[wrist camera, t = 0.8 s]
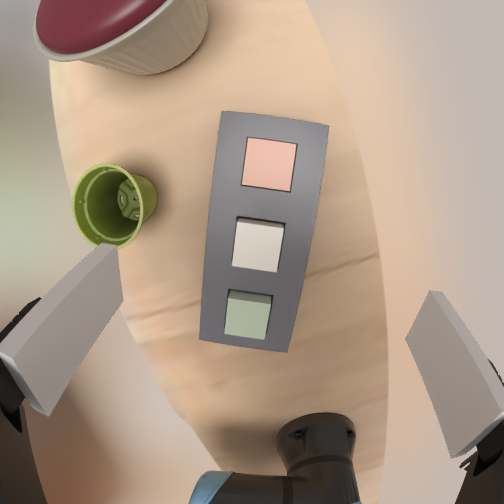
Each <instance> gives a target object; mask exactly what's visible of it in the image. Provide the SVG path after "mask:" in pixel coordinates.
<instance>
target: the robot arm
mask: <svg viewBox="0 0 504 504" xmlns="http://www.w3.org/2000/svg"><path fill="white" fill-rule="evenodd" d="M122 302H123V294H122V287H121V279H120V270H119V261H118V250H117V245H112V244H106V243H101V244H100V245H99V246H97V247H96V248H95V249H94V250H93V251H92V252H91V253H89V254H88V255H87V256H86V257H85V258H84V259H83V260H82V261H81V262H79V263H78V264H77V265H76V266H75V267H74V268H73V269H72V270H71V271H70V272H69V273H67V274H66V275H65V276H64V277H63V278H62V279H61V280H60V281H59V282H58V283H57V284H56V285H55V286H54V287H53V288H52V289H51V290H50V291H49V292H48V293H47V294H46V295H45V296H44V297H43V298H40V297H39V298H37V299H36V300H34V301H32V302H30V303H28V304H27V305H26V306H25V307H24V308H23V309H22V310H21V311H20V312H19V315H16V316H15V317H14V319H13V320H12V322H10V323H9V324H8V325H7V326H6V327H5V328H4V330H2V332H1V333H0V504H47V501H46V498H45V495H44V492H43V489H42V486H41V483H40V480H39V477H38V472H37V469H36V465H35V461H34V457H33V453H32V449H31V444H30V439H29V435H28V429H27V423H26V417H25V410H24V407H23V405H22V401H23V400H24V398H26V400H27V401H28V402H29V404H30V405H31V407H32V408H34V409H36V410H37V411H39V412H41V413H43V414H44V415H46V416H48V417H49V416H50V414H51V412H52V411H53V409H54V407H55V405H56V404H57V402H58V400H59V399H60V397H61V395H62V393H63V392H64V390H65V388H66V387H67V385H68V383H69V382H70V380H71V379H72V377H73V375H74V374H75V372H76V371H77V369H78V367H79V366H80V364H81V363H82V361H83V359H84V358H85V356H86V355H87V353H88V352H89V350H90V349H91V347H92V345H93V344H94V343H95V341H96V339H97V338H98V337H99V335H100V334H101V332H102V331H103V329H104V328H105V326H106V324H107V323H108V322H109V320H110V319H111V317H112V316H113V315H114V313H115V312H116V310H117V309H118V308H119V306H120V305H121V303H122ZM405 339H406V341H407V344H408V346H409V348H410V350H411V353H412V355H413V357H414V359H415V362H416V364H417V366H418V369H419V371H420V373H421V376H422V378H423V381H424V383H425V386H426V388H427V391H428V393H429V396H430V398H431V401H432V404H433V406H434V409H435V412H436V415H437V417H438V420H439V423H440V426H441V429H442V432H443V434H444V438H445V441H446V444H447V447H448V450H449V454H450V457H451V458H455V457H458V456H461V455H464V454H466V453H467V452H468V451H470V450H471V449H472V448H473V447H475V446H477V451H476V452H475V453H474V454H473V455H471V456H470V457H469V458H467V459H466V460H465V461H464V462H462V463H461V465H460V468H462V467H463V466H465V465H466V464H467V463H469V462H470V464H469V465H468V466H467V467H466V468H465V469H464V470H466V471H467V473H466V476H465V479H464V482H463V485H462V487H461V490H460V492H459V495H458V498H457V500H456V502H455V504H504V383H502V379H501V377H500V376H499V375H498V372H497V370H496V369H495V367H494V365H493V363H491V361H490V360H489V359H488V358H487V357H486V356H485V354H484V352H483V351H482V349H481V348H480V346H479V345H478V343H477V341H476V340H475V338H474V337H473V336H472V334H471V332H470V331H469V329H468V328H467V326H466V325H465V323H464V322H463V320H462V319H461V318H460V316H459V315H458V313H457V312H456V311H455V309H454V308H453V306H452V305H451V304H450V302H449V301H448V300H447V298H446V297H445V295H444V294H443V293H442V292H437V291H430V290H429V292H428V294H427V296H426V299H425V301H424V303H423V305H422V307H421V309H420V311H419V313H418V315H417V317H416V319H415V321H414V323H413V325H412V327H411V329H410V331H409V333H408V335H407V336H406V338H405ZM355 441H356V433H355V429H354V425H353V423H352V422H351V421H350V420H349V419H348V418H346V417H344V416H342V415H338V414H332V413H319V414H312V415H307V416H304V417H301V418H298V419H296V420H294V421H292V422H290V423H288V424H287V425H285V426H284V427H283V428H282V429H281V430H280V432H279V434H278V437H277V449H278V452H279V454H280V457H281V459H282V461H283V463H284V465H285V468H286V470H287V476H268V475H252V474H242V473H235V472H234V471H231V472H223V471H208V472H206V473H204V474H203V475H202V476H201V477H200V478H199V480H198V482H197V484H196V486H195V488H194V490H193V493H192V495H191V498H190V501H189V504H362V503H361V502H360V497H359V492H358V487H357V482H356V478H355V473H354V468H353V463H352V457H353V452H354V446H355Z"/></svg>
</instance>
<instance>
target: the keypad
mask: <svg viewBox="0 0 504 504" xmlns="http://www.w3.org/2000/svg"><path fill="white" fill-rule="evenodd" d="M328 131H329V126H328V125H323V124H318V123H312V122H307V121H301V120H295V119H289V118H282V117H275V116H267V115H259V114H251V113H241V112H230V111H222V113H221V120H220V127H219V134H218V141H217V149H216V156H215V164H214V173H213V181H212V190H211V199H210V208H209V218H208V228H207V238H206V249H205V261H204V273H203V287H202V301H201V316H200V334H199V340H204V341H209V342H215V343H221V344H227V345H233V346H240V347H247V348H254V349H261V350H269V351H277V352H286V353H287V351H288V347H289V343H290V339H291V334H292V330H293V326H294V321H295V317H296V313H297V308H298V304H299V299H300V294H301V290H302V285H303V280H304V275H305V270H306V265H307V260H308V255H309V250H310V245H311V239H312V234H313V228H314V223H315V217H316V211H317V205H318V199H319V193H320V187H321V181H322V174H323V168H324V161H325V154H326V147H327V139H328ZM248 138H256V139H263V140H271V141H278V142H285V143H291V144H296V151H295V158H294V165H293V172H292V179H291V185H290V191H284V190H278V189H271V188H264V187H257V186H249V185H242V179H243V172H244V164H245V156H246V149H247V142H248ZM239 216H243V217H250V218H257V219H264V220H271V221H278V222H284V231H283V237H282V243H281V249H280V255H279V261H278V267H277V272H270V271H263V270H256V269H249V268H242V267H236V266H232V260H233V252H234V243H235V235H236V227H237V221H238V220H239ZM230 289H234V290H241V291H248V292H255V293H262V294H269V295H272V298H271V307H270V313H269V318H268V323H267V329H266V334H265V340H263V339H256V338H249V337H242V336H235V335H229V334H224V332H225V323H226V313H227V304H228V297H229V294H230Z"/></svg>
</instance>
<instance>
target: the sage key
mask: <svg viewBox="0 0 504 504" xmlns="http://www.w3.org/2000/svg"><path fill="white" fill-rule="evenodd" d="M270 307H271V295H269V294H262V293H255V292H248V291H241V290H234V289H231V291H230V294H229V297H228V304H227V313H226V323H225V332H224V334H229V335H235V336H242V337H249V338H256V339H263V340H265V334H266V329H267V323H268V318H269V313H270Z"/></svg>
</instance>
